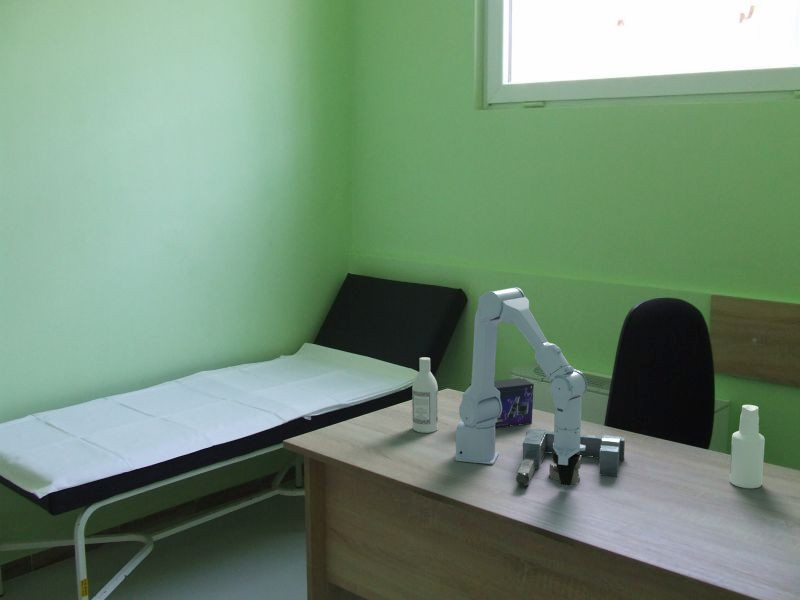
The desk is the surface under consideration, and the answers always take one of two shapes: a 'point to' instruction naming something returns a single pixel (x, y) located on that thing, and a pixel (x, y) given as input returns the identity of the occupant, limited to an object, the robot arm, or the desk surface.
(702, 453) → the desk surface
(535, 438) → the sliding jaw
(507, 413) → the box
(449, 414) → the desk surface
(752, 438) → the spray bottle
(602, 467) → the vise bed
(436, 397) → the bath foam
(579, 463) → the dental mold
